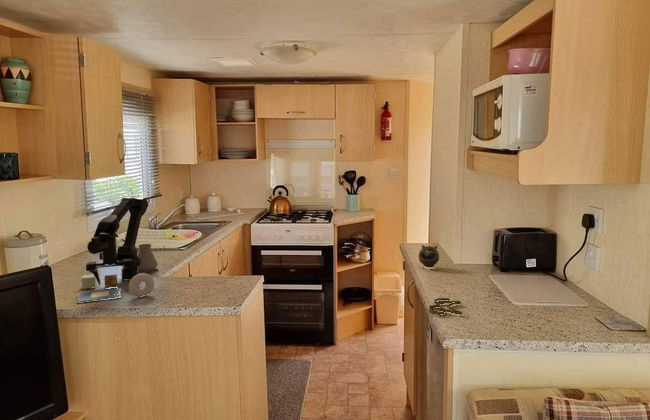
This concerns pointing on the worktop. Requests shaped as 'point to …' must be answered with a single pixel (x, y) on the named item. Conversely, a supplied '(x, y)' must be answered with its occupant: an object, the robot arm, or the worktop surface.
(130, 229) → the robot arm
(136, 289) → the donut
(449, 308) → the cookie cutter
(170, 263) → the worktop surface
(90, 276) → the sage cube
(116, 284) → the walnut cube
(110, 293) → the board
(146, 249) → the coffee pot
